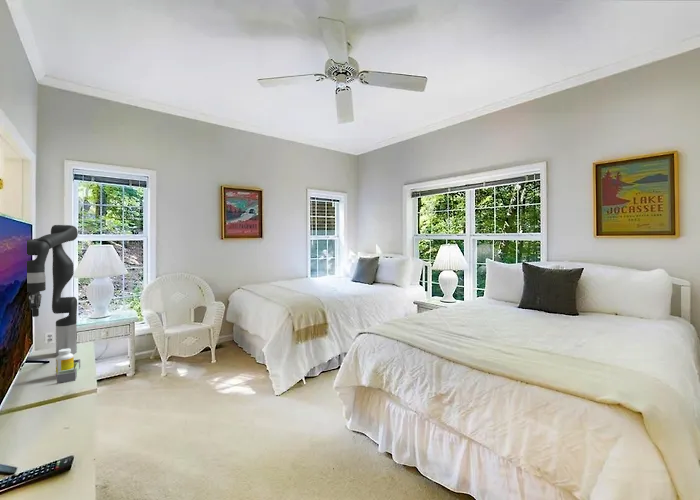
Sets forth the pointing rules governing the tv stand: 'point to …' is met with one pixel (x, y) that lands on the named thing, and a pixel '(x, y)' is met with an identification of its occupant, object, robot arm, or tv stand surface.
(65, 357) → the supplement bottle
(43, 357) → the tv stand surface
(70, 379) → the bay rack
